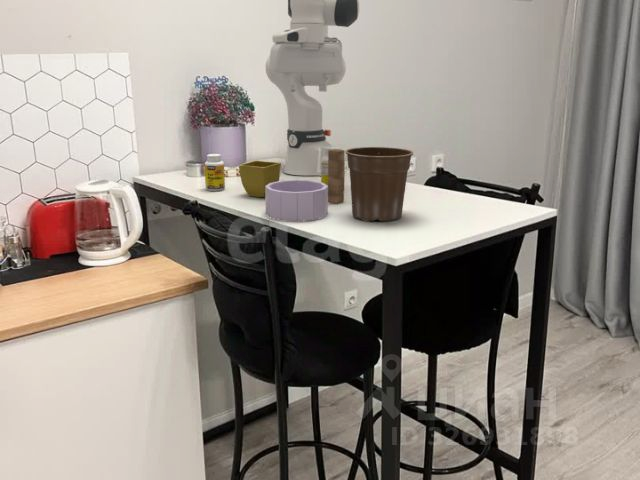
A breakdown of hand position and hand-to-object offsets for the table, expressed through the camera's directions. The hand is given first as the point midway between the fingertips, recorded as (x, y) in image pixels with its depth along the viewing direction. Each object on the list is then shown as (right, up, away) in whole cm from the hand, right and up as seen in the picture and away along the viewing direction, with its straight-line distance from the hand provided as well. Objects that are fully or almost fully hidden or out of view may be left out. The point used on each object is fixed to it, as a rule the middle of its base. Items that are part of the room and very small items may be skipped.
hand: (307, 91), depth 169 cm
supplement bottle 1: (-27, -25, +18) cm, 41 cm away
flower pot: (-13, -27, +12) cm, 32 cm away
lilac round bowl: (-2, -32, -8) cm, 34 cm away
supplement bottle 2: (+7, -25, +16) cm, 31 cm away
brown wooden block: (+8, -29, +4) cm, 30 cm away
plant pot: (+18, -33, -10) cm, 39 cm away
